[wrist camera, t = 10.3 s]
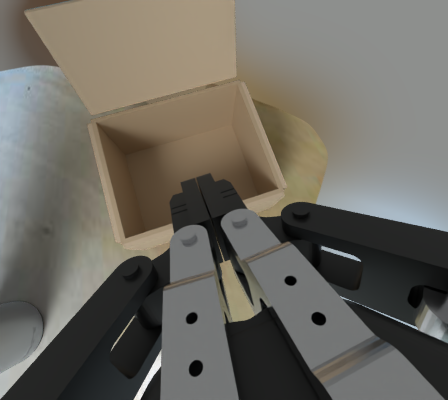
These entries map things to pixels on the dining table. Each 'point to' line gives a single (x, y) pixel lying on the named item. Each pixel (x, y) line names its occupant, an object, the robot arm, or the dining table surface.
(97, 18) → the wooden box lid
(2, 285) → the dining table surface
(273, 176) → the tan open box
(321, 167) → the dining table surface
